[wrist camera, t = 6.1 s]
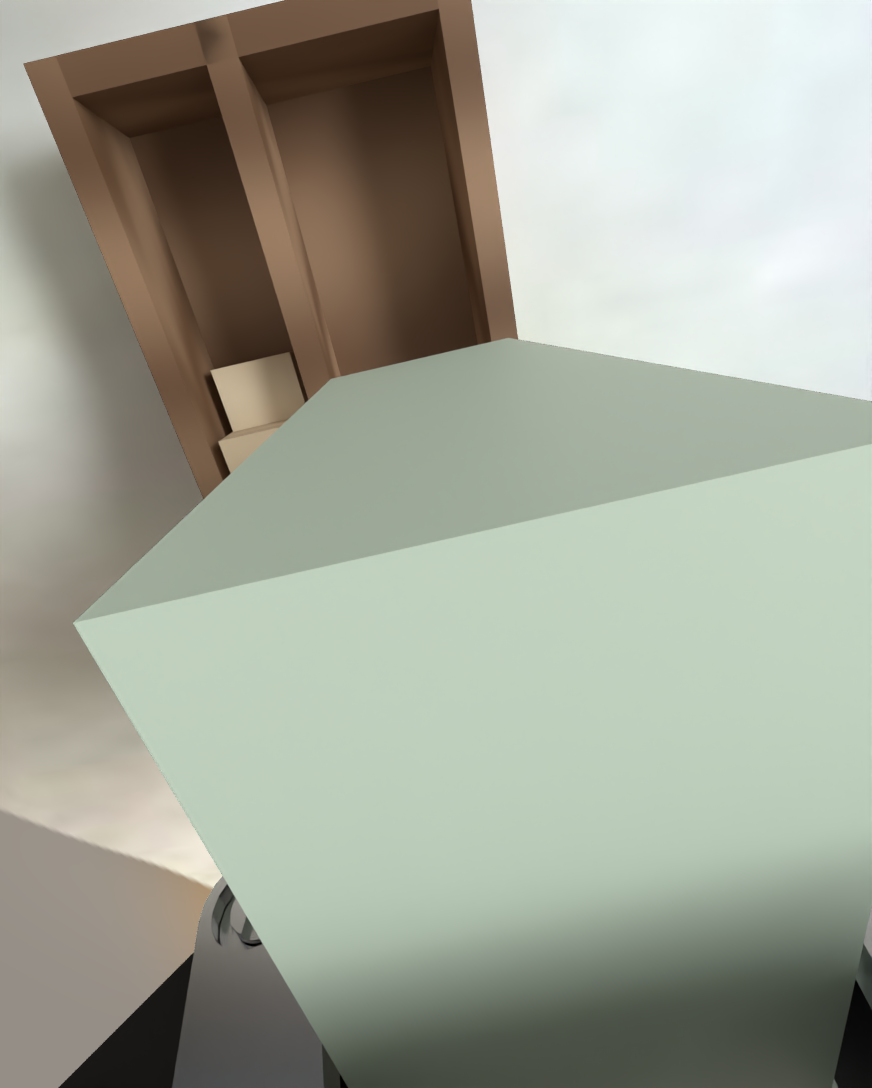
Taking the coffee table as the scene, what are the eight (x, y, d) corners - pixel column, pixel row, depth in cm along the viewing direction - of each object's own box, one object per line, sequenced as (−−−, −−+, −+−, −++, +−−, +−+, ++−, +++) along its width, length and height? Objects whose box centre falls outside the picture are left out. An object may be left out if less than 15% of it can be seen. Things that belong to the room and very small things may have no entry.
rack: (111, 126, 16) (23, 63, 12) (447, 45, 16) (464, -44, 12) (353, 771, 27) (346, 845, 23) (554, 727, 27) (581, 794, 23)
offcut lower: (225, 367, 18) (210, 370, 17) (297, 349, 18) (289, 352, 17) (304, 589, 22) (298, 608, 20) (365, 575, 22) (363, 593, 20)
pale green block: (330, 378, 11) (72, 621, 2) (508, 337, 11) (977, 419, 2) (435, 744, 16) (488, 1325, 7) (562, 717, 16) (792, 1264, 7)
